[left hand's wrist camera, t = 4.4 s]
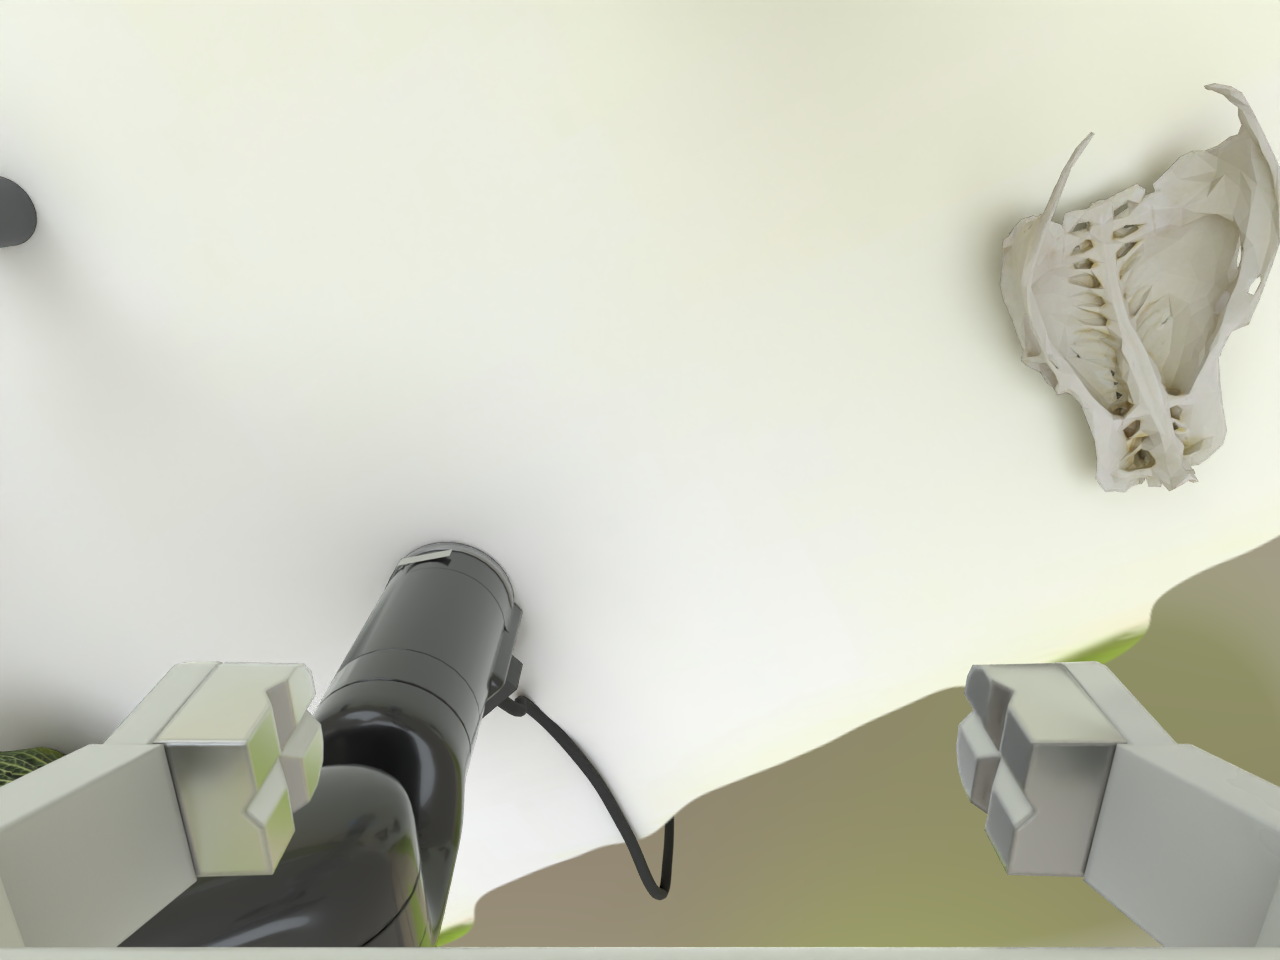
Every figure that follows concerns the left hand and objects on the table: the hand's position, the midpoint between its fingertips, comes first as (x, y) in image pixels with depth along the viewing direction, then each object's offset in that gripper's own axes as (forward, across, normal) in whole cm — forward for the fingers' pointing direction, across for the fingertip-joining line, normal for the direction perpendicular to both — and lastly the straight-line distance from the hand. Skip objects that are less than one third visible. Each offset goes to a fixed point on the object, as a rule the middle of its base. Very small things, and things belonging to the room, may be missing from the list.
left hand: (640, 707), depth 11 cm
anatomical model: (+48, -31, +3) cm, 57 cm away
